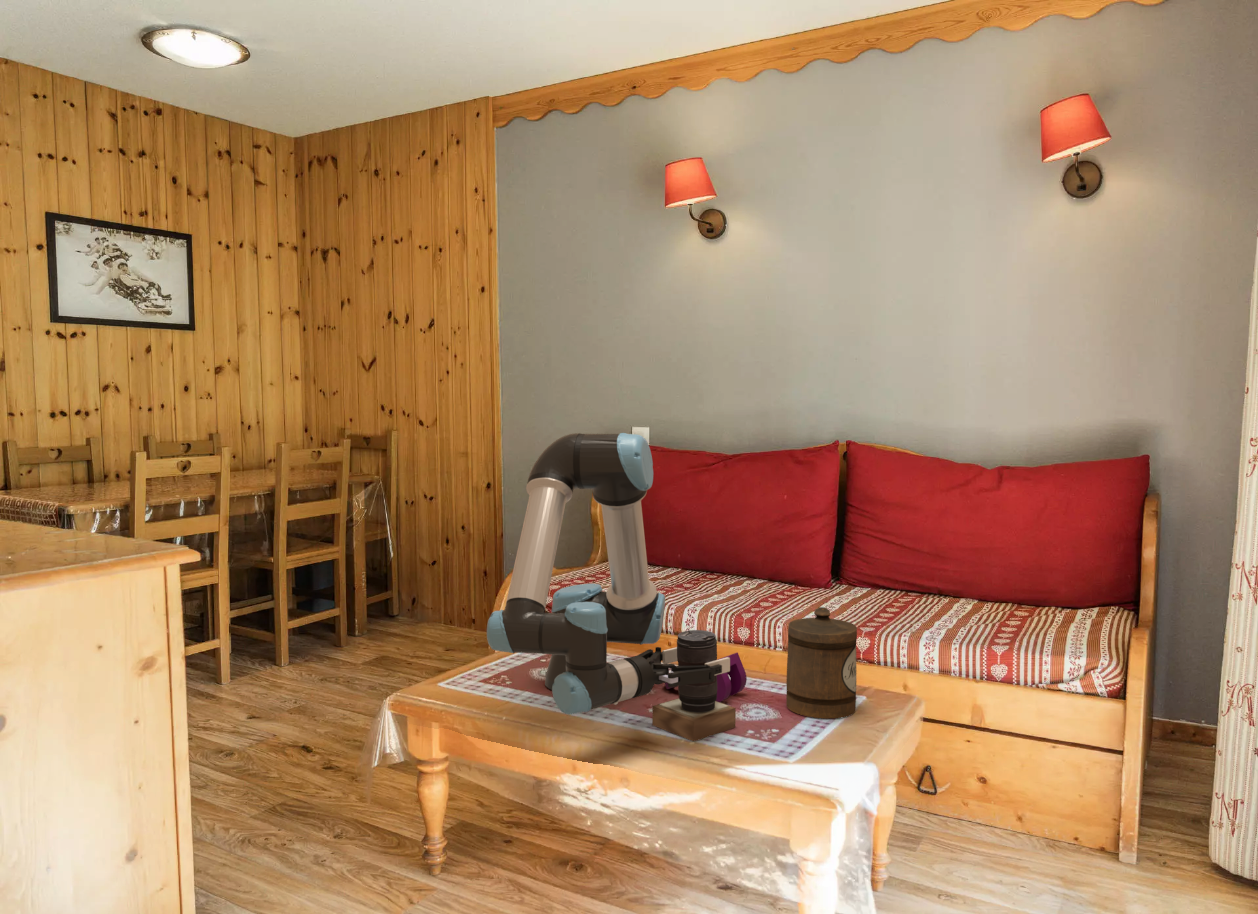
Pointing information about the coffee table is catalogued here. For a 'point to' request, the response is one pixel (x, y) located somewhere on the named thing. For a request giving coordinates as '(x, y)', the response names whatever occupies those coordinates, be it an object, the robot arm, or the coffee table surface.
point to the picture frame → (693, 720)
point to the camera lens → (692, 652)
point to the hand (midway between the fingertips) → (706, 657)
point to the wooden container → (821, 666)
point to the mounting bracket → (724, 682)
